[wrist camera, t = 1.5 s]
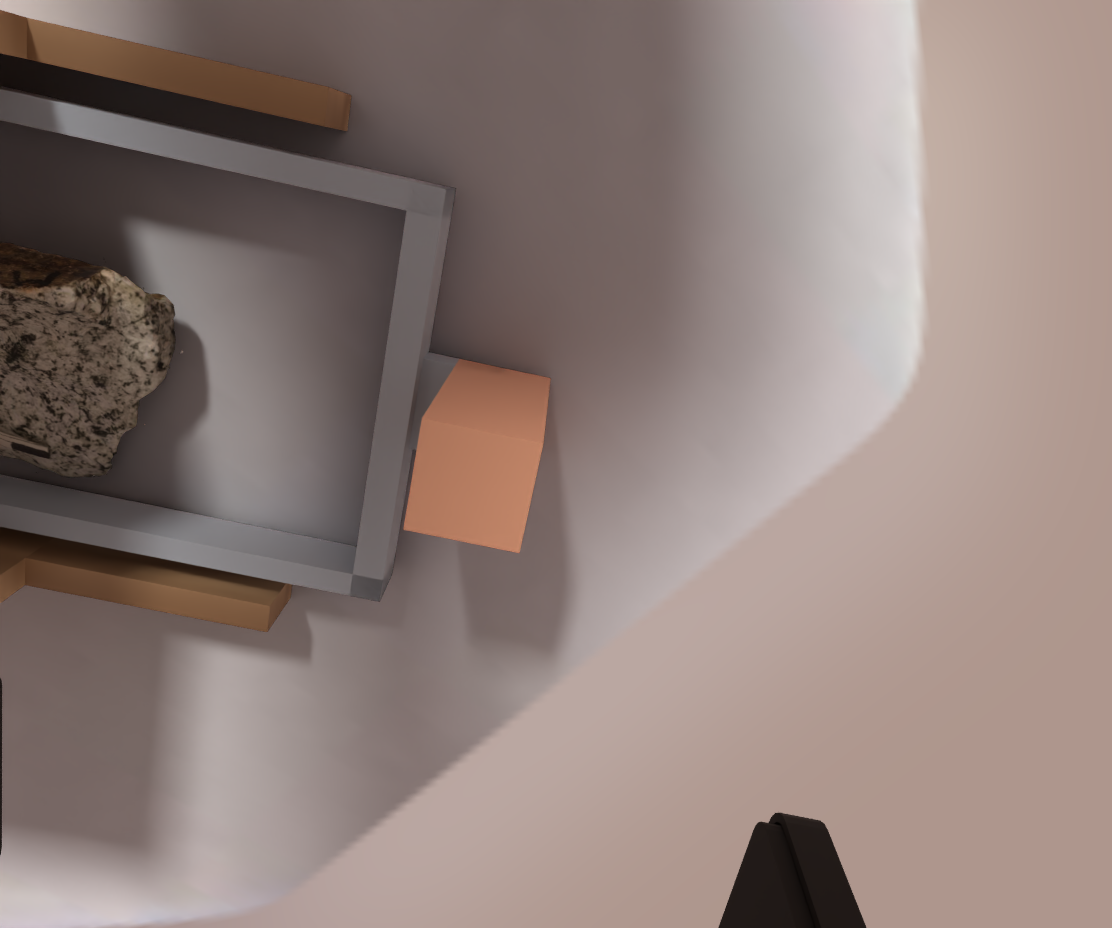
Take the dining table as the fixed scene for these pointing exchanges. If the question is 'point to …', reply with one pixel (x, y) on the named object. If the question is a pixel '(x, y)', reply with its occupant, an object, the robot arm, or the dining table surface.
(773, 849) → the robot arm
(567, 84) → the dining table surface
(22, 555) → the brown wooden arch frame
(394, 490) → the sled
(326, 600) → the dining table surface
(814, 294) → the dining table surface
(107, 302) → the rock sample
